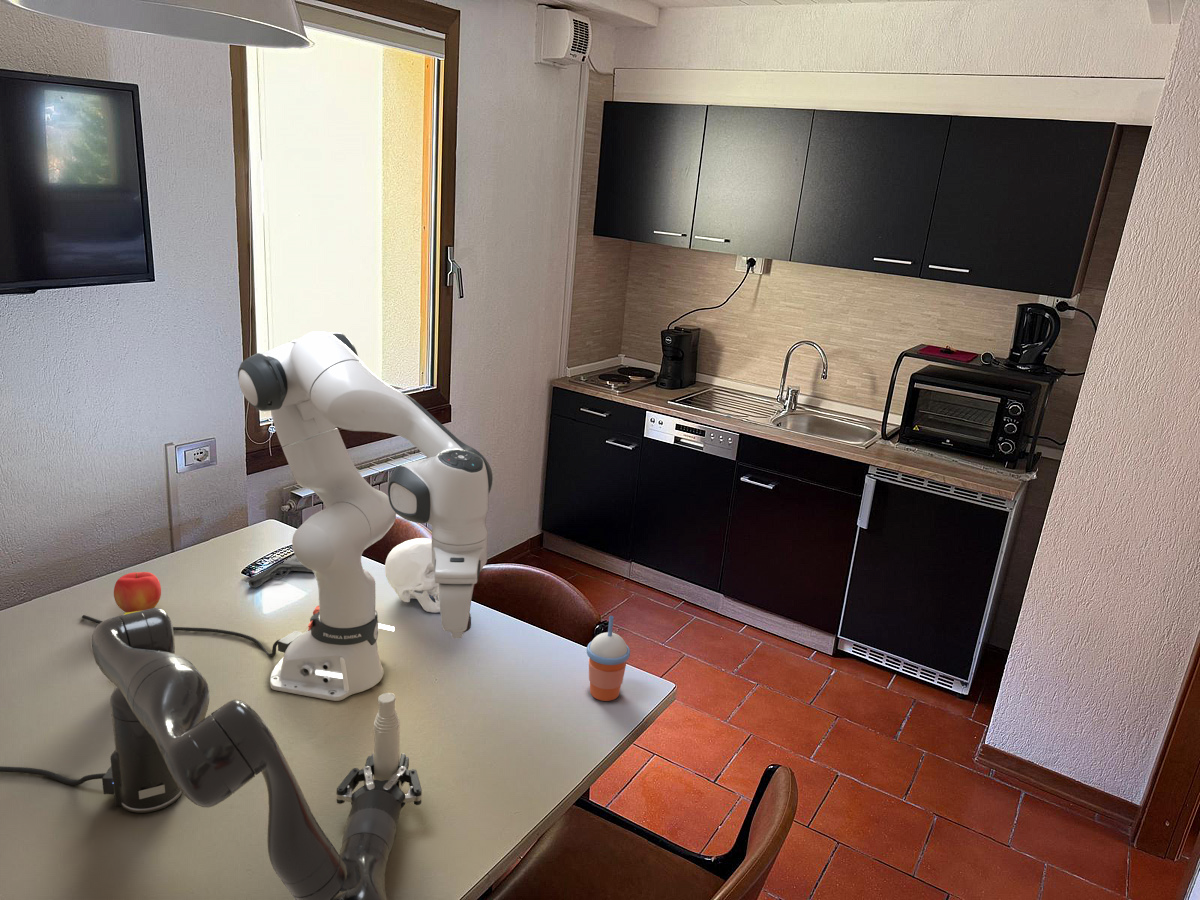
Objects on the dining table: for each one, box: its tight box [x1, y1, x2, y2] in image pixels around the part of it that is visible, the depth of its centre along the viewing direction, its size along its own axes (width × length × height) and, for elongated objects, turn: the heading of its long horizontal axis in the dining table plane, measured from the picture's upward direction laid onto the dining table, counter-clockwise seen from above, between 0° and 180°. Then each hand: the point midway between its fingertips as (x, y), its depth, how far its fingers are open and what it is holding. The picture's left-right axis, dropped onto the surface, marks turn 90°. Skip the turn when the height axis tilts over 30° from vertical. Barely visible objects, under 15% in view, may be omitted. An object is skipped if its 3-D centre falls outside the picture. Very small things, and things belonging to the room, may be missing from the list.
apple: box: [113, 571, 162, 613], centre depth 195 cm, size 10×10×10 cm
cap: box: [463, 612, 472, 634], centre depth 140 cm, size 4×4×2 cm
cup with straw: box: [586, 615, 631, 702], centre depth 178 cm, size 9×9×18 cm
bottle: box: [373, 692, 401, 781], centre depth 143 cm, size 4×4×20 cm
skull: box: [384, 537, 441, 614], centre depth 211 cm, size 13×22×16 cm, turn 67°
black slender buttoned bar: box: [248, 555, 313, 588], centre depth 220 cm, size 2×18×12 cm
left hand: (388, 757), depth 146 cm, fingers closed on bottle, 4 cm apart
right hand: (458, 628), depth 140 cm, fingers closed on cap, 4 cm apart
